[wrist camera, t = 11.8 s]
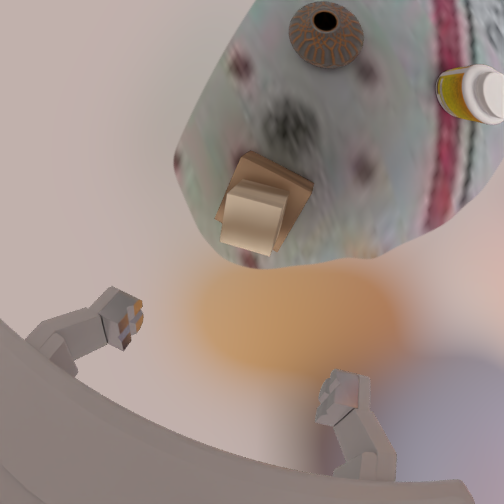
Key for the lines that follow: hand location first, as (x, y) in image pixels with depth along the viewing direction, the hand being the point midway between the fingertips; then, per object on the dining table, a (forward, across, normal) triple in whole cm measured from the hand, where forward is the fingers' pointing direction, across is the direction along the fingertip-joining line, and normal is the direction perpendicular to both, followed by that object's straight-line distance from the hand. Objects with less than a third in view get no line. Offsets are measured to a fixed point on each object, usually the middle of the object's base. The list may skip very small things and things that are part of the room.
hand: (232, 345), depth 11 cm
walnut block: (+25, +3, +4) cm, 25 cm away
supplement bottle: (+25, -14, -15) cm, 33 cm away
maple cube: (+21, +3, +4) cm, 21 cm away
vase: (+25, +1, -15) cm, 30 cm away
